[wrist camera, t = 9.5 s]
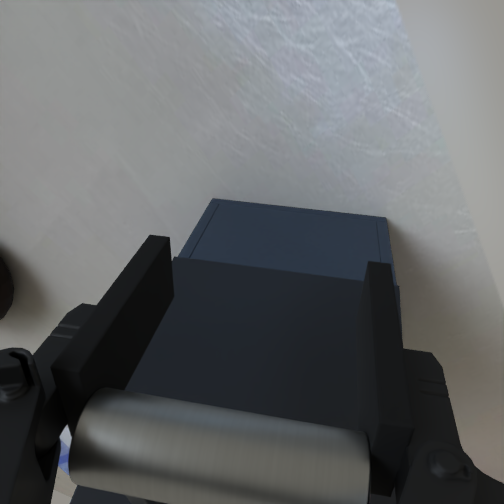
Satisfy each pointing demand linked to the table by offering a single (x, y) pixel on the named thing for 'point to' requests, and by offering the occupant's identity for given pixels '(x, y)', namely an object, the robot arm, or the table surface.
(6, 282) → the donut
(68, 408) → the robot arm
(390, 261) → the blue storage box
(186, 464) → the lid
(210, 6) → the table surface
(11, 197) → the table surface
